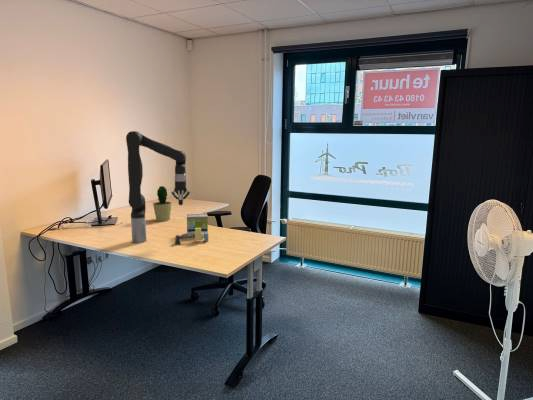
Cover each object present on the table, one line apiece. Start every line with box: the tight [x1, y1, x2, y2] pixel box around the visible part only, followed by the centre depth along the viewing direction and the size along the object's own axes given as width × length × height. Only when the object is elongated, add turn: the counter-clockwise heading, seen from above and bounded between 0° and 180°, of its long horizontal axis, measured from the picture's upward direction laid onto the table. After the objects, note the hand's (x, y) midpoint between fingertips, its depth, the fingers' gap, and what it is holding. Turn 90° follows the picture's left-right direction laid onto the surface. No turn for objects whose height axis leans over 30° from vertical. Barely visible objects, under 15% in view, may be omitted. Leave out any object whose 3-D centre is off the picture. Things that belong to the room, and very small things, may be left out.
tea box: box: [186, 213, 209, 236], centre depth 276 cm, size 15×10×15 cm
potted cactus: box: [152, 185, 173, 222], centre depth 319 cm, size 15×15×30 cm
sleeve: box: [193, 228, 204, 241], centre depth 258 cm, size 5×5×8 cm
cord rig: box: [174, 231, 209, 246], centre depth 258 cm, size 22×6×6 cm, turn 108°
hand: (180, 205), depth 258 cm, fingers closed
